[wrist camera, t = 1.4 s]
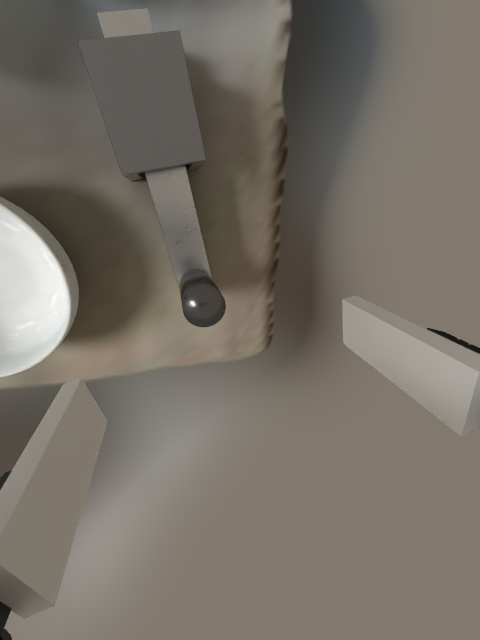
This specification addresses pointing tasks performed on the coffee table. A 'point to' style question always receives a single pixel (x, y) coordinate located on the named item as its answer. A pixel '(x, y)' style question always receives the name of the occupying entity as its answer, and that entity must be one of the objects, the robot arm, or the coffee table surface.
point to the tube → (175, 206)
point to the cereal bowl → (32, 291)
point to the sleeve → (145, 101)
